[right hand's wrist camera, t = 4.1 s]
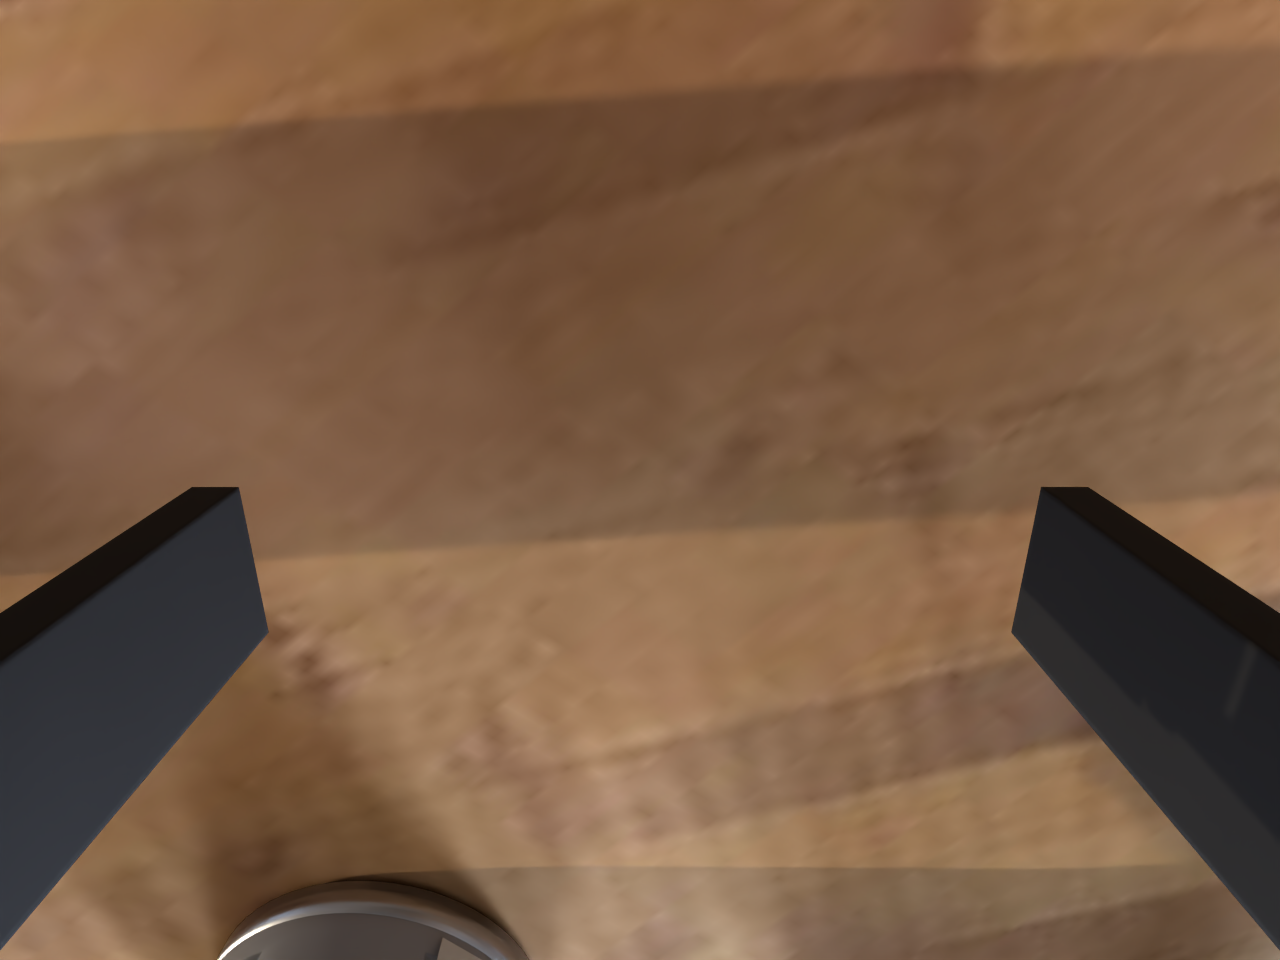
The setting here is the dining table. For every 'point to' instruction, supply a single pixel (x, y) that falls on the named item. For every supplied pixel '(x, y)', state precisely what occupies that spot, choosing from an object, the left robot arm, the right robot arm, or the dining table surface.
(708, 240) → the dining table surface
